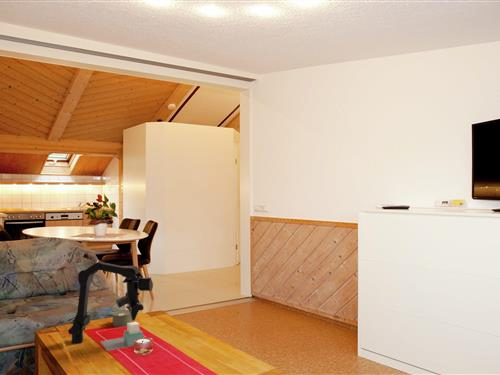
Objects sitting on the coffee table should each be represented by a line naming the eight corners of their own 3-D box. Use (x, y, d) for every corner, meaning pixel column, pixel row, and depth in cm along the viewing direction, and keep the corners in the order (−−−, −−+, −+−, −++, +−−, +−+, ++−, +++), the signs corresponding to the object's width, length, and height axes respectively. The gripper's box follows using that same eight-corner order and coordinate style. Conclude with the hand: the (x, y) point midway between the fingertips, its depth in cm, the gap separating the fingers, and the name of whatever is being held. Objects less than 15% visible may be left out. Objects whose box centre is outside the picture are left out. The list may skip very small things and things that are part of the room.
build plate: (100, 343, 236) (100, 330, 236) (136, 336, 245) (135, 324, 245) (107, 352, 222) (106, 339, 222) (144, 345, 231) (144, 332, 231)
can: (134, 320, 275) (134, 309, 275) (130, 326, 263) (130, 315, 263) (115, 321, 274) (114, 310, 274) (110, 327, 262) (109, 315, 262)
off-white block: (127, 332, 234) (127, 323, 234) (136, 330, 236) (136, 321, 236) (129, 335, 229) (129, 325, 229) (139, 333, 232) (139, 324, 232)
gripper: (112, 289, 237) (113, 318, 237) (121, 296, 221) (122, 328, 221) (133, 286, 242) (134, 315, 242) (143, 293, 226) (144, 324, 226)
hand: (133, 320), depth 233 cm, fingers closed
